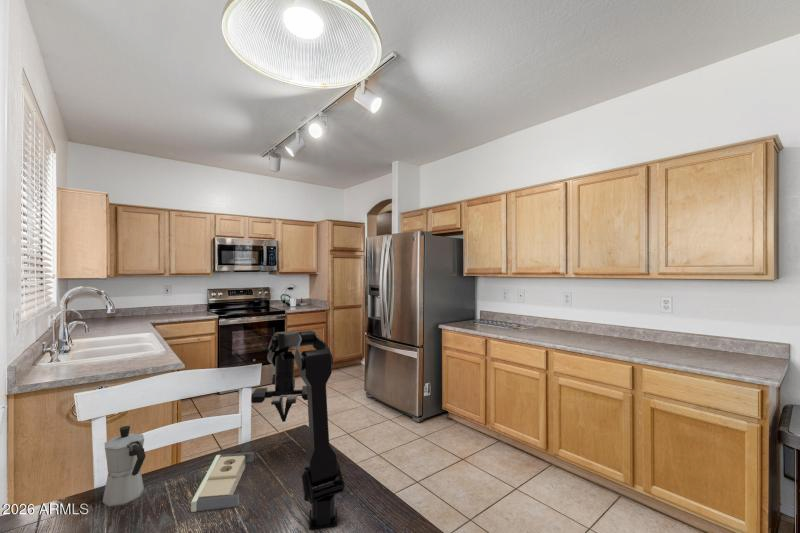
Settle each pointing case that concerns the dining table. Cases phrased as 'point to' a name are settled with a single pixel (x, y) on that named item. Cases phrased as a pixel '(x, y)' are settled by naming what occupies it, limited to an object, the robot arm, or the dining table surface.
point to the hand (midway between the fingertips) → (283, 421)
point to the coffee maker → (124, 468)
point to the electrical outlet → (224, 477)
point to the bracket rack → (217, 501)
